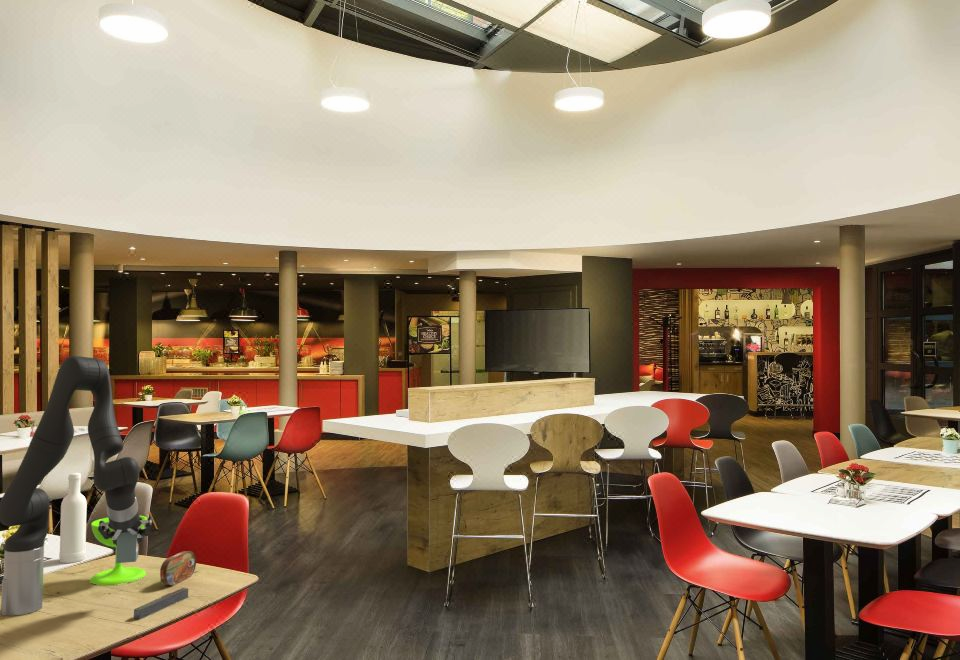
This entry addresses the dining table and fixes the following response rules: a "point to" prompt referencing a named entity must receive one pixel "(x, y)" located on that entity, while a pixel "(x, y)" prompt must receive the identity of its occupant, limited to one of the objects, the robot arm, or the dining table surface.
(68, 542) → the bottle
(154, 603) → the price rail
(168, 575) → the tin
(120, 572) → the wineglass
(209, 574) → the dining table surface
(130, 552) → the carton
